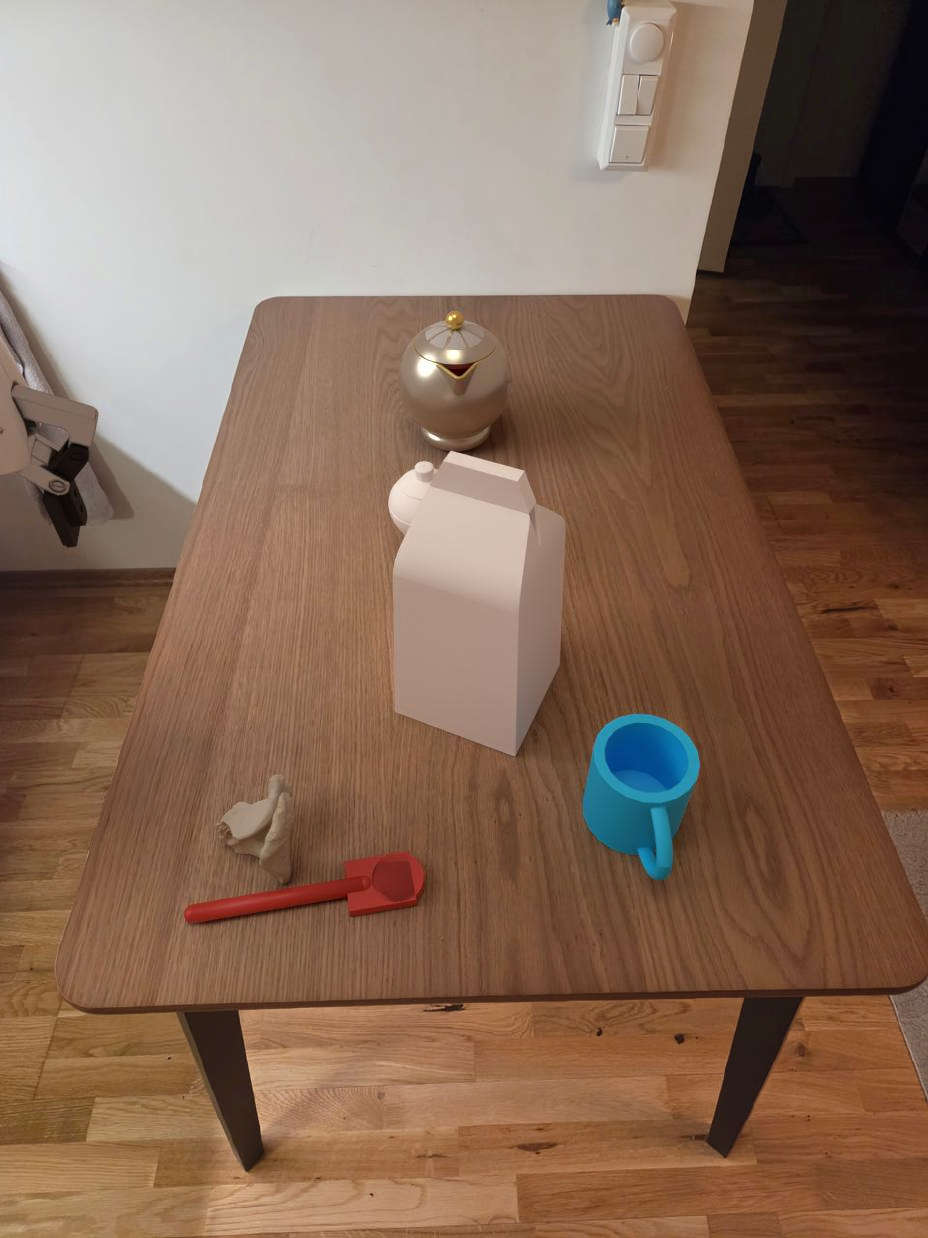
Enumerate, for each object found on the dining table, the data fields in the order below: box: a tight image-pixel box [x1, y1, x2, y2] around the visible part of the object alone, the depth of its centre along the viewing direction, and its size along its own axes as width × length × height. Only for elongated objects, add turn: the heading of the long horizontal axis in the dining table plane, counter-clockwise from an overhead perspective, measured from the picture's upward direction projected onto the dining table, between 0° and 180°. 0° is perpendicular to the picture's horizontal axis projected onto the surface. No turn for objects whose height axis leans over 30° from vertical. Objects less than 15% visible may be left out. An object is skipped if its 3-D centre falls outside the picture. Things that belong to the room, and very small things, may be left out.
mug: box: [582, 713, 701, 882], centre depth 68 cm, size 12×8×8 cm
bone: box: [215, 773, 296, 886], centre depth 67 cm, size 9×6×10 cm
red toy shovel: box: [183, 850, 426, 924], centre depth 67 cm, size 18×4×1 cm, turn 100°
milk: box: [392, 451, 567, 758], centre depth 72 cm, size 12×12×26 cm
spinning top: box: [387, 460, 439, 536], centre depth 89 cm, size 8×8×12 cm
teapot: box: [397, 310, 513, 452], centre depth 104 cm, size 18×14×16 cm
